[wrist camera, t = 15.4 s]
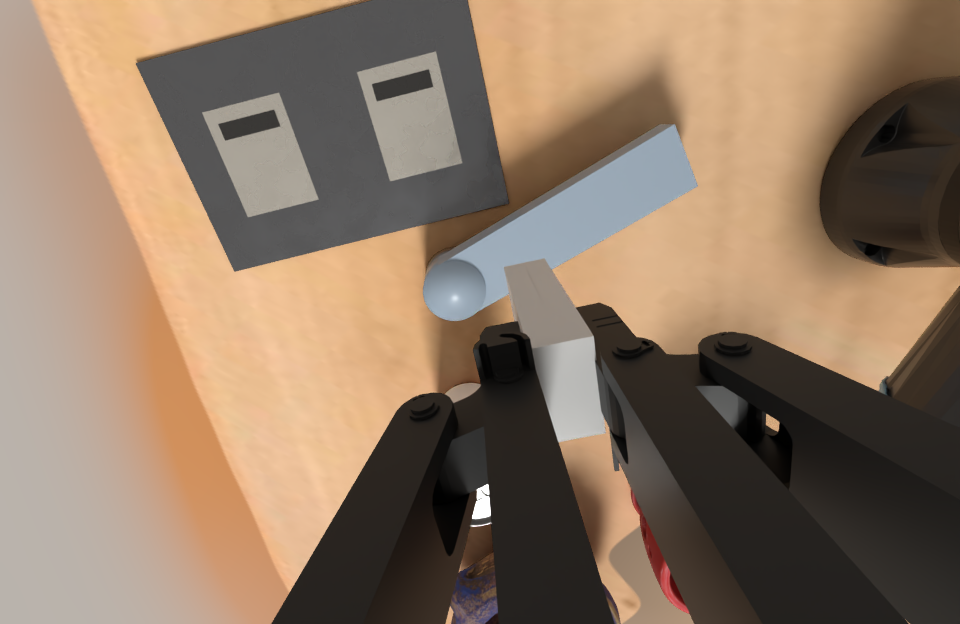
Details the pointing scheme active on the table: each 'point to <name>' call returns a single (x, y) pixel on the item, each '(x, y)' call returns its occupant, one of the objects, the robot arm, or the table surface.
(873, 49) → the table surface
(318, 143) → the label panel
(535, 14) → the table surface
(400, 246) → the table surface
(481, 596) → the bowl
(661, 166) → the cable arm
